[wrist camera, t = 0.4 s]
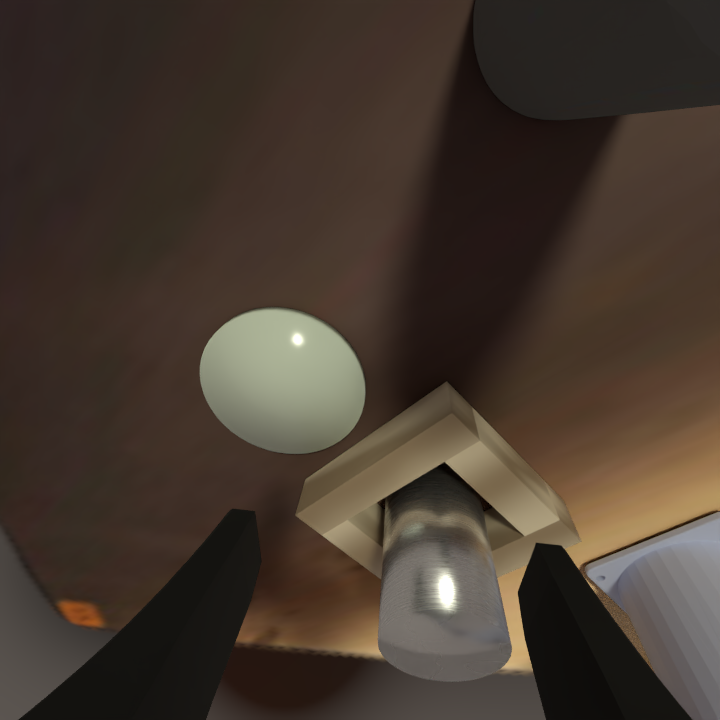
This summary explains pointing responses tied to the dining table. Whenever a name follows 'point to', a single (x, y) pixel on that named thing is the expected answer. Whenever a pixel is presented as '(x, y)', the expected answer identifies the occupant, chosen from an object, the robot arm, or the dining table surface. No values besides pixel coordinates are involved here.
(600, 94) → the bottle
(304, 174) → the dining table surface
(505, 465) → the collar
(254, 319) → the coaster
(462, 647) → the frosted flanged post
